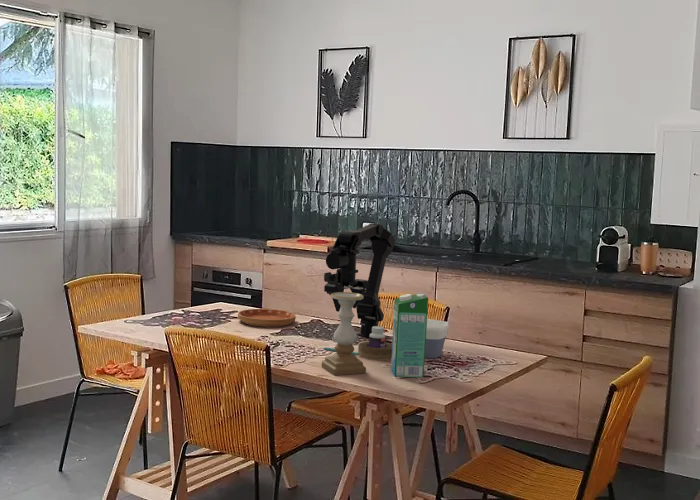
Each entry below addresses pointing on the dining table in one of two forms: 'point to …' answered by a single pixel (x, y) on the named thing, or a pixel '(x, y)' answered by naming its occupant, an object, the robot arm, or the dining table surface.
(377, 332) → the pill bottle
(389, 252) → the robot arm
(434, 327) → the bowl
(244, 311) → the saucer
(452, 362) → the dining table surface
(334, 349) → the teal stick
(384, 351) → the brown faceted ring
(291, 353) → the dining table surface
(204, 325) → the dining table surface
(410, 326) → the milk carton
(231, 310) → the dining table surface
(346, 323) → the candle holder
